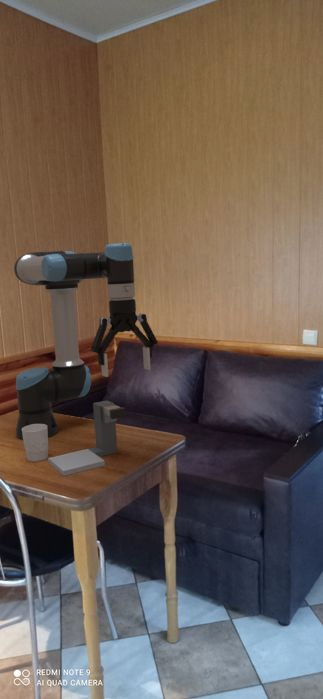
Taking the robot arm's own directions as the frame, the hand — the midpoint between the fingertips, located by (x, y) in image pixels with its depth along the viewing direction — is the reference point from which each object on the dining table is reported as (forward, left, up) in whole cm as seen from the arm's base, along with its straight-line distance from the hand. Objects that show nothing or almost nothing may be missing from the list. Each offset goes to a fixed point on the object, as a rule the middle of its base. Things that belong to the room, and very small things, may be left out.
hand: (126, 372), depth 154 cm
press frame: (-11, -9, -28) cm, 32 cm away
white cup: (-24, -21, -28) cm, 43 cm away
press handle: (-8, -1, -17) cm, 19 cm away
